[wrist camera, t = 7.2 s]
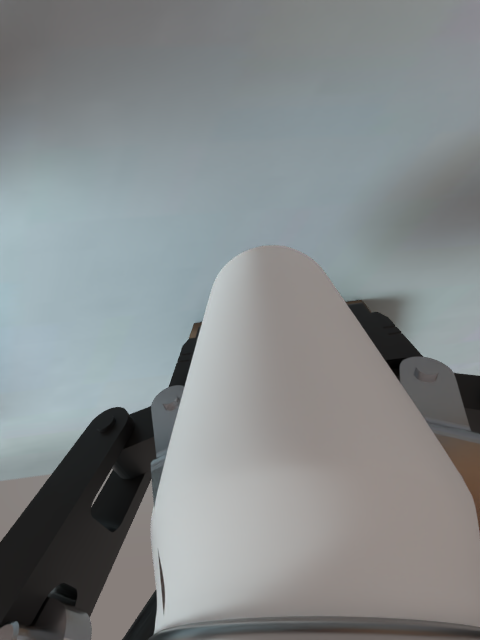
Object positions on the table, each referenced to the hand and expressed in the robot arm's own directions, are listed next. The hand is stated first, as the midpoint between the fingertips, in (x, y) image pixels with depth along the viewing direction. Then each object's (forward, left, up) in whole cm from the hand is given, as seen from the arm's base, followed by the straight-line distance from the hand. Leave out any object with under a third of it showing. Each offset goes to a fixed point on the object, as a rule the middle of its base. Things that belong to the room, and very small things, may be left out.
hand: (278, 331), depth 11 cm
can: (0, 0, -3) cm, 3 cm away
